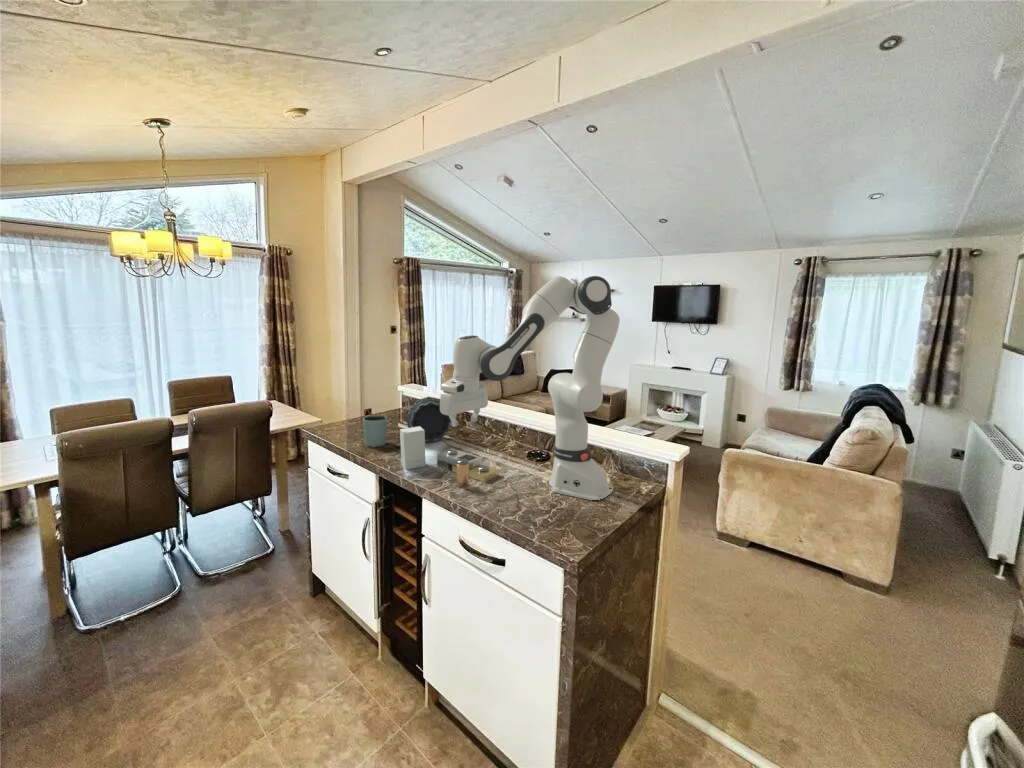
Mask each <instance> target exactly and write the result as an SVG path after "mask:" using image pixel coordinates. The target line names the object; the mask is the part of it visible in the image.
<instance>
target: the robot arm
mask: <svg viewBox="0 0 1024 768" xmlns="http://www.w3.org/2000/svg"><path fill="white" fill-rule="evenodd" d="M612 303H613V302H612V290H611V285H610V283H609V282H608V280H607V279H605V278H604V277H602V276H599V275H591V276H588V277H586V278H584V279H583V280H582V281H580V282H579V283H576V284H575V283H573V282H572V281H570V280H569V279H568V278H566V277H565V276H554V278H552V279H551V280H549V281H548V282H546V283H545V284H544V285H543V286H541V288H539V289H538V290H537V291H536V292H535V293H534V294H533V296H531V297H530V298H529V300H528V301H527V303H526V304H524V305H525V306H524V307H523V308H522V311H521V312H522V313H521V315H522V316H521V321H520V323H519V324H518V325H519V326H518V327H517V328H516V329H515V330H514V331H513V332H512V334H510V336H509V337H508V338H507V339H506V340H505V341H504V342H503V343H502V344H501V345H500V346H495V345H493V344H491V343H488V342H486V341H484V340H483V339H481V338H480V336H478V335H466V336H465V335H464V336H461V337H459V338H458V339H456V341H455V343H454V348H453V357H452V358H453V361H452V362H453V373H452V378H450V379H448V380H447V381H445V382H443V383H442V384H441V385H440V390H441V391H442V392H441V393H440V398H439V399H440V412H441V413H442V414H444V415H448V416H449V418H450V420H451V427H453V428H455V427H458V426H459V420H457V418H456V417H457V415H458V414H463V413H466V412H470V411H473V413H472V415H471V416H470V422H473V423H475V422H478V417H479V415H480V413H481V409H484V408H487V406H488V405H489V394H488V390H487V384H486V383H485V382H484V381H480V374H481V373H482V375H484V377H485V378H486V379H488V380H489V381H493V382H500V381H503V380H506V378H508V377H509V376H510V375H511V373H512V371H513V370H514V369H513V368H514V366H515V363H516V361H517V360H518V358H519V357H520V356H521V354H522V353H524V351H525V349H527V348H528V347H529V345H530V344H531V343H532V342H533V341H534V340H535V339H536V338H537V336H538V335H539V334H541V333H542V332H544V330H545V329H547V328H548V327H550V326H551V325H552V323H554V322H555V320H557V319H558V318H559V317H560V316H561V314H563V312H564V311H566V310H567V309H568V308H569V309H570V310H572V311H574V312H576V313H578V314H580V315H585V316H586V321H585V325H584V328H583V330H582V332H581V335H580V337H579V339H578V341H577V343H576V345H575V348H574V350H573V352H572V358H573V369H572V373H570V372H559V373H556V374H554V375H552V376H551V378H550V379H549V380H548V385H547V390H548V393H549V395H550V398H551V401H552V407H553V413H554V418H555V419H554V420H555V443H554V445H553V466H552V469H551V475H550V478H549V481H548V484H549V486H550V487H551V488H552V491H553V492H554V493H557V494H561V495H564V496H565V495H566V496H570V497H575V498H579V499H585V500H588V501H592V500H599V501H601V500H600V499H603V498H605V497H607V496H608V495H609V494H610V493H611V492H612V491H613V492H614V486H613V487H611V488H612V489H609V487H610V486H608V485H607V484H608V478H607V473H606V471H605V470H604V469H603V468H602V467H601V466H600V465H599V464H598V463H597V462H596V461H595V460H594V459H593V458H592V455H593V454H594V451H595V450H594V449H592V450H590V449H589V446H588V437H589V436H588V435H589V423H588V420H586V419H587V418H586V416H585V413H592V412H594V411H596V410H597V409H599V408H600V406H601V404H602V402H603V398H604V395H603V390H602V386H601V385H602V374H603V369H604V366H605V363H606V360H607V358H608V357H609V354H610V351H611V350H612V346H613V344H614V342H615V339H616V337H617V334H618V332H619V331H618V330H619V326H620V321H621V320H620V319H621V318H620V316H619V314H618V313H617V312H616V311H615V310H614V309H612V308H611V307H612V306H613V304H612ZM608 497H609V496H608ZM608 497H607V498H608ZM605 499H606V498H605ZM603 500H604V499H603Z"/></svg>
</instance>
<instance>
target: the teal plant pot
mask: <svg viewBox="0 0 1024 768" xmlns="http://www.w3.org/2000/svg"><path fill="white" fill-rule="evenodd" d="M387 421H388V417H387V416H386V415H382V414H381V415H379V414H373V415H366V416H364V417H363V418H362V424H363V429H364V430H363V433H364V435H363V436H364V444H365V447H367V446H372V447H371V448H376V447H375V446H380V447H383V446H385V445H386V440H387V439H386V435H387V423H388V422H387ZM382 445H383V446H382Z"/></svg>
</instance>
